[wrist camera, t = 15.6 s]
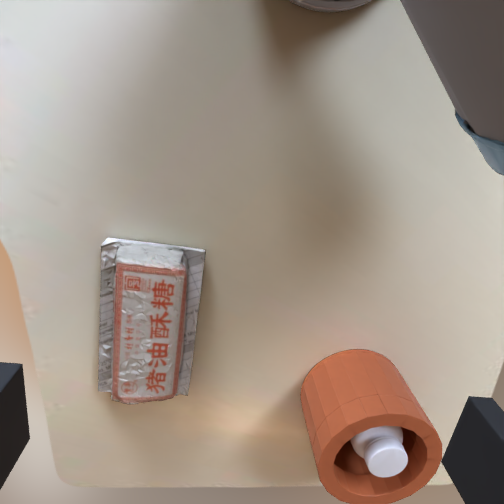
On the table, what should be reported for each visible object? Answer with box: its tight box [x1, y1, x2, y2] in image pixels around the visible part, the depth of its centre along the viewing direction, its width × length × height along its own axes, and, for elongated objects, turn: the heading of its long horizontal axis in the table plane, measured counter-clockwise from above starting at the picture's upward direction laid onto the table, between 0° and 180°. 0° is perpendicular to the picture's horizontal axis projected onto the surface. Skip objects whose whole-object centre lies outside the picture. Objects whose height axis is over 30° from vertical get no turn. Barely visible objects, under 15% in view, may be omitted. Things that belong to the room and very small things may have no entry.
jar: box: [301, 349, 442, 504], centre depth 43 cm, size 12×12×10 cm
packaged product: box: [98, 238, 206, 404], centre depth 40 cm, size 18×5×10 cm
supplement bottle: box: [350, 426, 408, 477], centre depth 43 cm, size 5×5×10 cm
